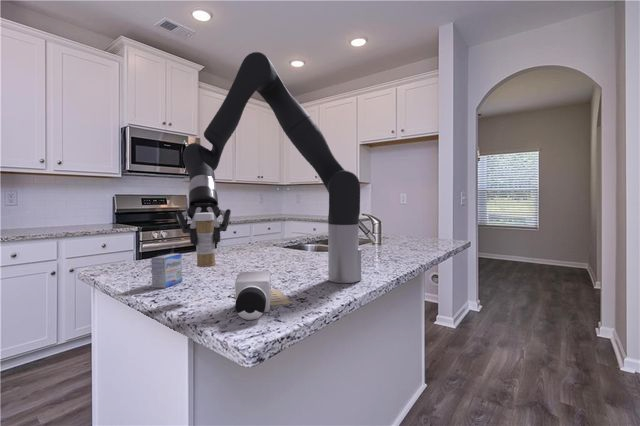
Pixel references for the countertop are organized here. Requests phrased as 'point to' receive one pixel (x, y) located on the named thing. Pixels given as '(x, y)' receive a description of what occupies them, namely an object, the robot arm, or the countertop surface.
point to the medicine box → (166, 270)
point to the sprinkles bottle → (205, 239)
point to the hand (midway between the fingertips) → (205, 242)
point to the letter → (277, 298)
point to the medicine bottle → (252, 294)
